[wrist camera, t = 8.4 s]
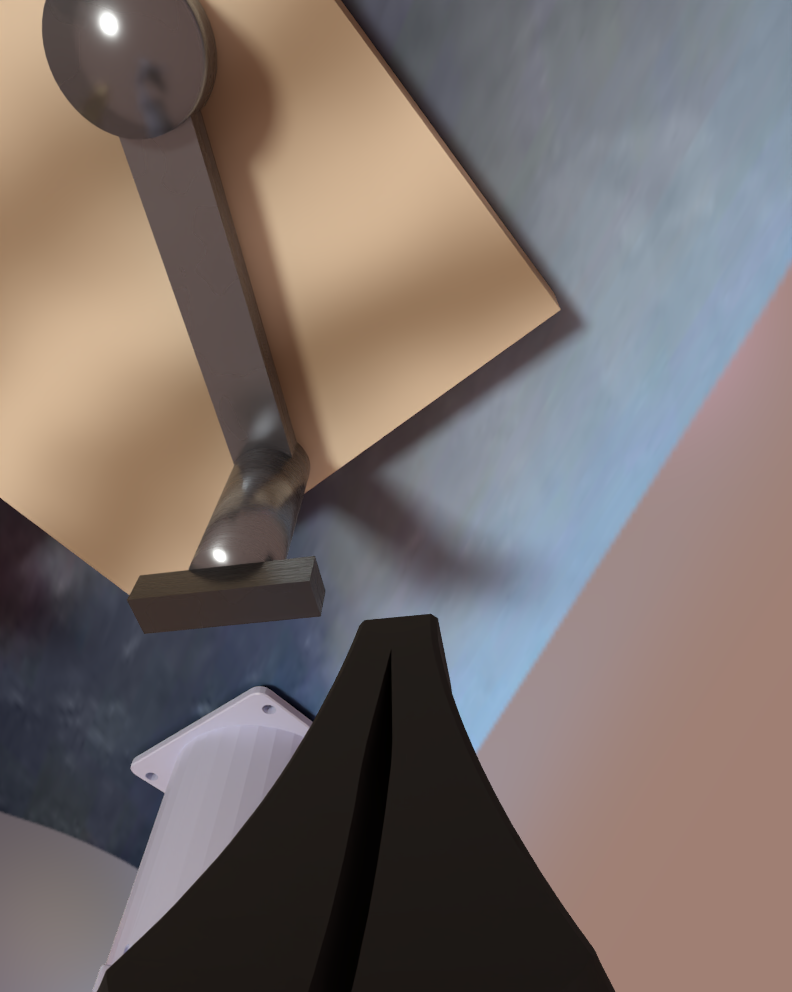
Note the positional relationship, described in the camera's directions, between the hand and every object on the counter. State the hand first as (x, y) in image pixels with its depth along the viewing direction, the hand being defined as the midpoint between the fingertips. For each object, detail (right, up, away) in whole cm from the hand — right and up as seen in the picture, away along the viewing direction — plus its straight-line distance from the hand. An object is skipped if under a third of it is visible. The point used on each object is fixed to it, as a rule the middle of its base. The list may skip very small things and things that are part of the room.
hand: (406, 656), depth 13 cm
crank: (-5, +8, +4) cm, 10 cm away
